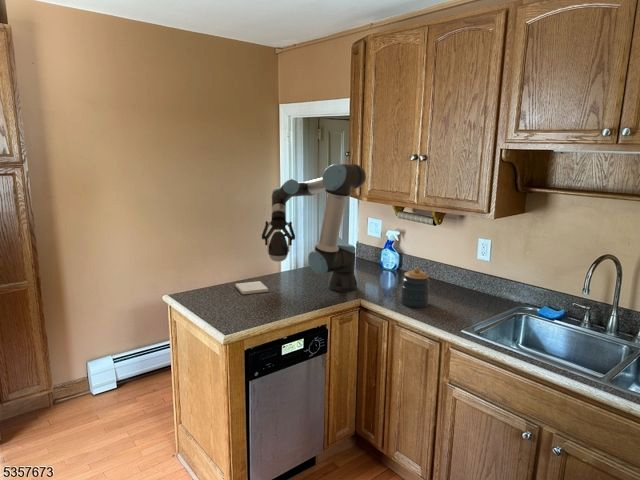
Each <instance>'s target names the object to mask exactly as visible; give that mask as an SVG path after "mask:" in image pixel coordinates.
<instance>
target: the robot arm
mask: <svg viewBox="0 0 640 480" xmlns="http://www.w3.org/2000/svg"><path fill="white" fill-rule="evenodd" d="M366 180H367V174H366V171H365V169H364V168H363V167H362V166H361V165H359V164H357V163H356V164H355V163H349V164H348V163H336V164H335V163H334V164H331V165H328V166H327V167H326V168H325V169H324V171H323V173H322V176H321V177H319V178H316V179H312V180H307V181H302V182H301V181H299V182H298V181H297V180H296V179H294V178H288V179H287V180H286V181H284V183H283V185H281V187H277V188H274V189H273V190H272V193H271V220H270V221H265V222H264V223H265V226H264V228H263V230H262V231H263V232H262V234H261V239H262V240H264V245H265V246H266V247H267V248H266V249H267V250H266V251H267V253H268V252H269V243H270V237H272V235H273V234H274V232H276V231H282V233H283V234H286V233H289V235H287V236H286V238H287V245H288V253H289V252H290V247H291V246H292V244H293V243H292V241H295V240H296V235H295V232H294V229H293V225H292V224H293V222H292V221H289V222H288V221H287V202H288V201H289V200H290V199H291V198H293V197H295V198H296V197H306V196H307V197H308V196H309V197H310V196H315V195H317V194H320V193H325V194H326V195H327V196H326V203H325V209H324V213H323V219H322V225H321V230H320V236H319V241H318V242H317V243H315V245H314V250H311V251H310V252H309V254H308V256H307V257H308V258H307V259H308V265H309V267H310V269H311V270H312V272H314V273H315V274H318V275H321V274H327V273H331V274H330V277H329V280H328V282H327V283H328V284H327V288H328V289H329V290H332V291H333V292H334V291H336V292H343V293H346V292H347V293H349V292H355V291H356V290H357V288H358V282H357V279H356V275H355V270H356V269H355V268H356V254H357V252H356V246H354V245H352V244H349V243H343V242H338V239H339V235H340V230H341V226H342V225H341V224H342V220H343V214H344V208H345V204H346V199H347V198H349V197H350V196H351V190H356V189H360V188H361V187H362V186H363V185H364V184H365V182H366ZM270 226H271V228H270V229H268V228H269V227H270ZM287 227H288V228H289V229H287ZM268 230H269V231H268ZM288 230H289V231H288Z"/></svg>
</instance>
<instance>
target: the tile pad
mask: <svg viewBox="0 0 640 480" xmlns="http://www.w3.org/2000/svg"><path fill="white" fill-rule="evenodd" d="M235 288H236V289H237V291H239V292H240V294H241V295H249V294H257V293H258V294H259V293H266V292H269V289H268V287H267V286H266V285H265V284H264V283H263V282H261V281H260V280H259V281H248V282H241V283H239V282H238V283H235Z"/></svg>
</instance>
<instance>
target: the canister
mask: <svg viewBox="0 0 640 480" xmlns="http://www.w3.org/2000/svg"><path fill="white" fill-rule="evenodd" d="M429 277H430V276H429V274H428V273H426V272H425V271H422V270H421V269H420V268H419V267H414V269H411V270H408V271H406V272H404V276H403V277H402V278H401V280H402V284H401V293H400V303H401V304H402V305H404V306H405V307H409V308H413V309H414V308H416V309H422V308H425V307H428V304H429V296H430V294H429V293H430V286H429V285H430V283H431V280H430V279H429Z"/></svg>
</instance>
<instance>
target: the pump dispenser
mask: <svg viewBox="0 0 640 480" xmlns="http://www.w3.org/2000/svg"><path fill="white" fill-rule="evenodd" d="M289 234H290V232H289V233H286V234H285V233H284V232H283V231H282V230H275V231H274V232H273V233H272V235H271V238H270V239H269V252H267V253H268V257H269V258H270V260H271V261H273V262H283V261H285V260H286V259H287V258H288V254H289V252H288V240H287V235H289Z"/></svg>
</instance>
